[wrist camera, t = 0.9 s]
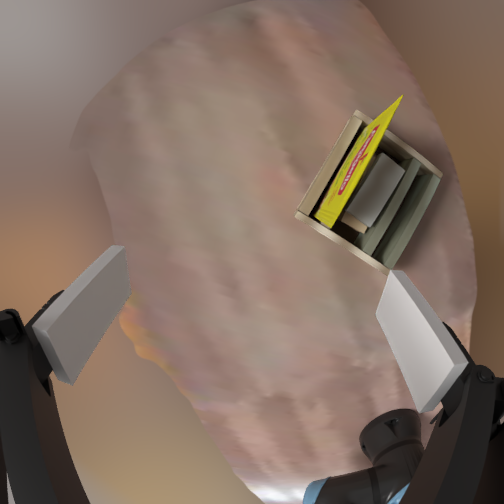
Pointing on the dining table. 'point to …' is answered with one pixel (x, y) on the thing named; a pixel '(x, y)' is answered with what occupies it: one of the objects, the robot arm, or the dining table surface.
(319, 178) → the rack
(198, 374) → the dining table surface
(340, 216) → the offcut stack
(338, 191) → the food package
